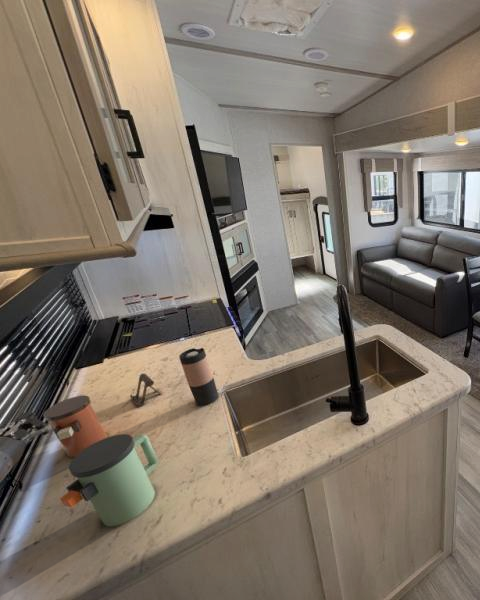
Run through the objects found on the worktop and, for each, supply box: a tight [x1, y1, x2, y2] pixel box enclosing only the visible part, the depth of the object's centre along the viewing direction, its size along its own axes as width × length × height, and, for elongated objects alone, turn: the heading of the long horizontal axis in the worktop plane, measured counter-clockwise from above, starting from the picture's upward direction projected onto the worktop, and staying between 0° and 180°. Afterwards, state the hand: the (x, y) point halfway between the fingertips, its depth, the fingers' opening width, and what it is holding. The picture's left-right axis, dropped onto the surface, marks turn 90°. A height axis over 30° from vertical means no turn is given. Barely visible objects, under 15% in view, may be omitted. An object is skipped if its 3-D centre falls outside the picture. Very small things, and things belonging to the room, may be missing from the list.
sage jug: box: [65, 433, 159, 527], centre depth 73 cm, size 16×11×17 cm
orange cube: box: [59, 490, 84, 508], centre depth 64 cm, size 2×2×2 cm
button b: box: [56, 427, 74, 440], centre depth 86 cm, size 2×2×2 cm
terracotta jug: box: [42, 395, 108, 458], centre depth 93 cm, size 14×10×15 cm
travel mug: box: [178, 347, 219, 407], centre depth 110 cm, size 8×8×20 cm
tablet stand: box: [129, 373, 162, 408], centre depth 115 cm, size 9×8×8 cm
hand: (29, 415), depth 73 cm, fingers closed
